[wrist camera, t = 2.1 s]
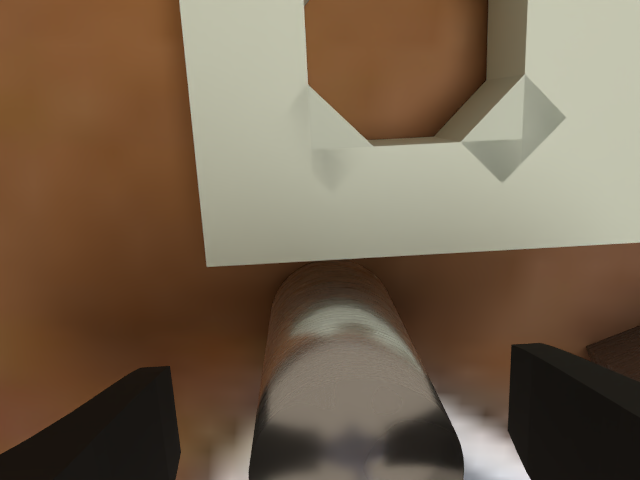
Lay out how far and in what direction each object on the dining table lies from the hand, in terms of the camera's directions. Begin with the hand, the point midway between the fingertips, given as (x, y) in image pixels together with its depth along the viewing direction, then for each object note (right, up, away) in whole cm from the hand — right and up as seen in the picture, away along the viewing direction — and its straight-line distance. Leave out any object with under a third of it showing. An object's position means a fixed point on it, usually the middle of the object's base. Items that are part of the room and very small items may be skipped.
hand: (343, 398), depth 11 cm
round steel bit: (0, +1, +5) cm, 5 cm away
